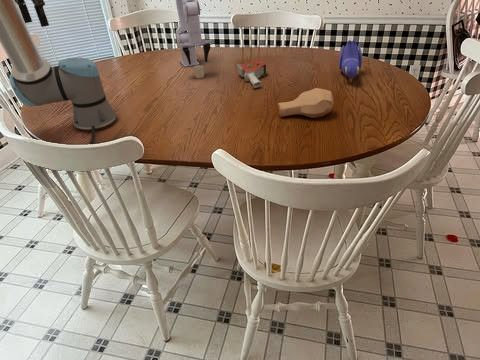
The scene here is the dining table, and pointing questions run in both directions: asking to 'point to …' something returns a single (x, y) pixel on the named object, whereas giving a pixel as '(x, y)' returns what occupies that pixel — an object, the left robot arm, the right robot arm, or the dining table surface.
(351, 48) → the toy
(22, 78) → the left robot arm
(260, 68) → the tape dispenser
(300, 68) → the dining table surface
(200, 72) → the canister
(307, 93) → the squash
